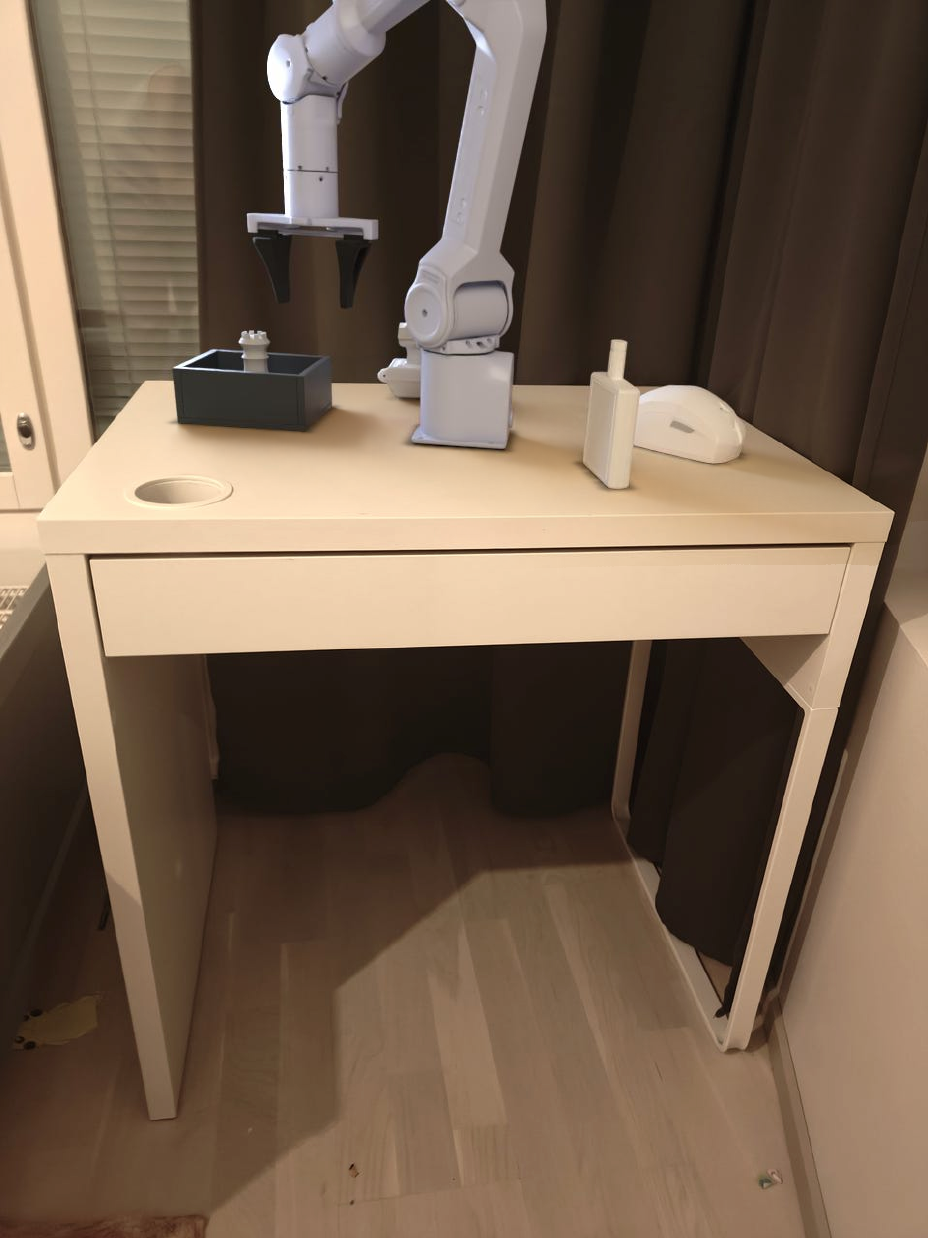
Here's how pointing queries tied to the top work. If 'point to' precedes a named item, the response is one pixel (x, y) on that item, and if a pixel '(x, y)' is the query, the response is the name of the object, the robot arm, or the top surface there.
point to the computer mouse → (689, 424)
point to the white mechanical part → (404, 368)
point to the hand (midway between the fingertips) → (314, 305)
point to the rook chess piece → (254, 351)
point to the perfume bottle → (611, 421)
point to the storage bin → (253, 391)
